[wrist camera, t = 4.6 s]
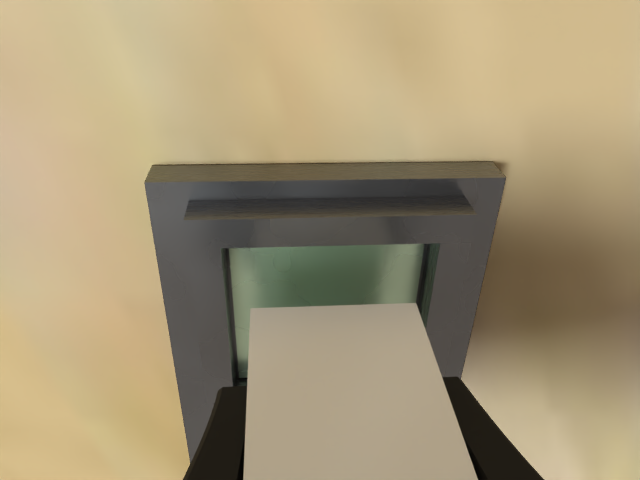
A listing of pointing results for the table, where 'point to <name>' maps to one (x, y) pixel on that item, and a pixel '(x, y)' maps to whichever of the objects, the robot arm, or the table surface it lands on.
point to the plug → (348, 397)
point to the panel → (313, 254)
